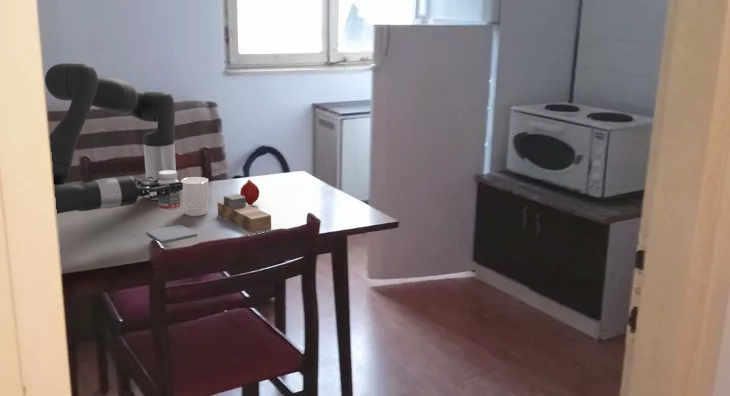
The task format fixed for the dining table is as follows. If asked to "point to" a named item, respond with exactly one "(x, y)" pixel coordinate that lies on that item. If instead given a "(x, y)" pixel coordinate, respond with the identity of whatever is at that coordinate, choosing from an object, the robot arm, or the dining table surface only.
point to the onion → (250, 192)
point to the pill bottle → (174, 198)
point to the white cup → (195, 196)
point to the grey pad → (171, 233)
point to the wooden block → (243, 214)
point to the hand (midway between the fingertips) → (176, 183)
